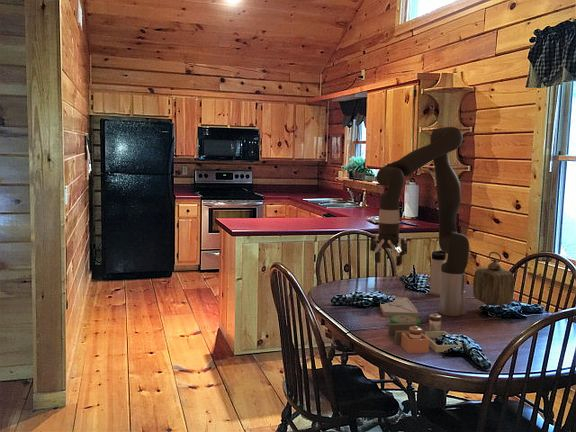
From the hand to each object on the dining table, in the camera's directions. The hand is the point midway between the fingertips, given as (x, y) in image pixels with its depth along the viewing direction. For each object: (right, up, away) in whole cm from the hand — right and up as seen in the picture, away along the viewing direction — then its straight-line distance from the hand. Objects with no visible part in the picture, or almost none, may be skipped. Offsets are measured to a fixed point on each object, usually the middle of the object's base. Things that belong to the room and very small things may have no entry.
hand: (387, 264), depth 202 cm
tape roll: (+7, -24, +2) cm, 25 cm away
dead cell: (+4, -26, -24) cm, 35 cm away
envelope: (+8, -21, +25) cm, 33 cm away
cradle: (+3, -25, -14) cm, 29 cm away
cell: (+15, -25, -8) cm, 30 cm away
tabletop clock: (+47, -22, +22) cm, 56 cm away
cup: (+4, -27, -24) cm, 36 cm away
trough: (+14, -26, -19) cm, 35 cm away
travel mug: (+31, -18, +47) cm, 59 cm away
